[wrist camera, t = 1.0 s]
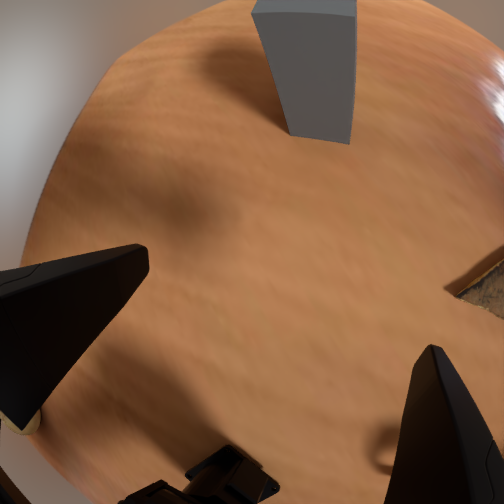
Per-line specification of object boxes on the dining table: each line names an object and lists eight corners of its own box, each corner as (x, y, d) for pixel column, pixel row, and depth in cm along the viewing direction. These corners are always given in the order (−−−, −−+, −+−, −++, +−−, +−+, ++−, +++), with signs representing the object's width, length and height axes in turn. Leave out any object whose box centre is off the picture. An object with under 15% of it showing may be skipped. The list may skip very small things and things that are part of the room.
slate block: (349, 144, 21) (354, 16, 9) (290, 135, 23) (250, 13, 10) (354, 99, 22) (355, -23, 9) (300, 92, 23) (271, -26, 11)
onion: (48, 440, 26) (12, 452, 19) (20, 408, 28) (-14, 415, 21) (48, 400, 26) (7, 409, 19) (19, 368, 28) (-18, 372, 22)
